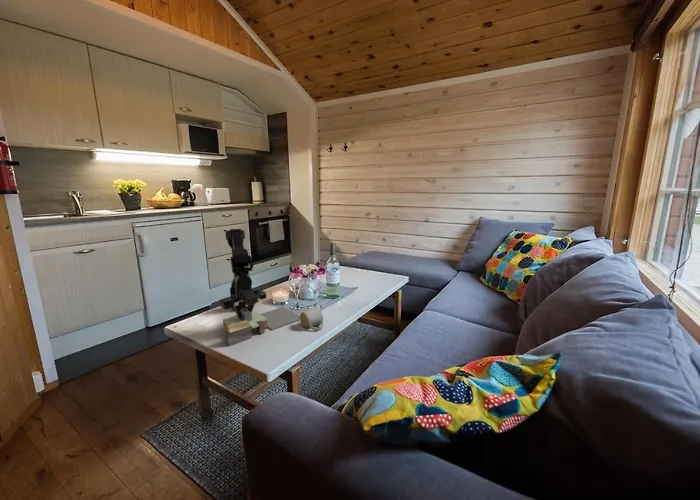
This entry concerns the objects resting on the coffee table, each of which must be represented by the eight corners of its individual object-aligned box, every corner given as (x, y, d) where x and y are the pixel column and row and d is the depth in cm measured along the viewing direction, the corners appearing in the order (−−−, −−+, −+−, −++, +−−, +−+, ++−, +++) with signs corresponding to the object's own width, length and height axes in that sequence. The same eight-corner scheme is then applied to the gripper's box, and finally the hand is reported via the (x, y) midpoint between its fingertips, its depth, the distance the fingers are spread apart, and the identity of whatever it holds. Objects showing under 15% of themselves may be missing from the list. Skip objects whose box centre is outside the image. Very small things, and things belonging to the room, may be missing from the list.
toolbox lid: (222, 321, 135) (222, 311, 135) (253, 312, 145) (252, 303, 144) (239, 332, 125) (238, 322, 124) (270, 322, 135) (270, 312, 134)
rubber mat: (251, 318, 148) (251, 316, 148) (282, 308, 160) (282, 307, 160) (272, 330, 136) (272, 329, 136) (304, 318, 148) (304, 317, 148)
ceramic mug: (298, 325, 141) (298, 308, 140) (314, 319, 146) (313, 304, 145) (312, 333, 133) (311, 316, 132) (327, 328, 139) (327, 311, 137)
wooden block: (227, 331, 124) (226, 326, 124) (246, 324, 130) (245, 320, 129) (229, 333, 123) (229, 328, 122) (249, 326, 128) (248, 321, 128)
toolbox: (213, 333, 133) (212, 322, 132) (253, 320, 146) (253, 310, 145) (229, 346, 123) (228, 334, 122) (271, 330, 136) (270, 320, 135)
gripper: (229, 292, 121) (232, 330, 124) (272, 282, 134) (274, 316, 137) (216, 286, 128) (220, 322, 132) (258, 276, 141) (260, 309, 144)
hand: (244, 317), depth 136 cm, fingers open, 4 cm apart
